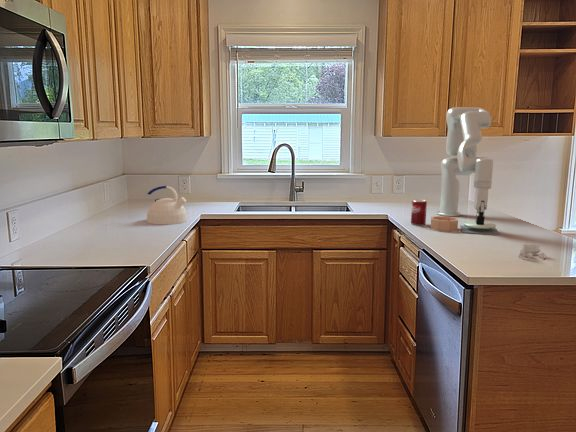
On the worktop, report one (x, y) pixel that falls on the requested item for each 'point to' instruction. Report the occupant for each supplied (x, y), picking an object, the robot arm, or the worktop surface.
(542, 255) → the fabric
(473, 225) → the lid
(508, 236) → the worktop surface
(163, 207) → the kettle
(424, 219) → the soda can
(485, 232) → the mat
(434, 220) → the bowl
